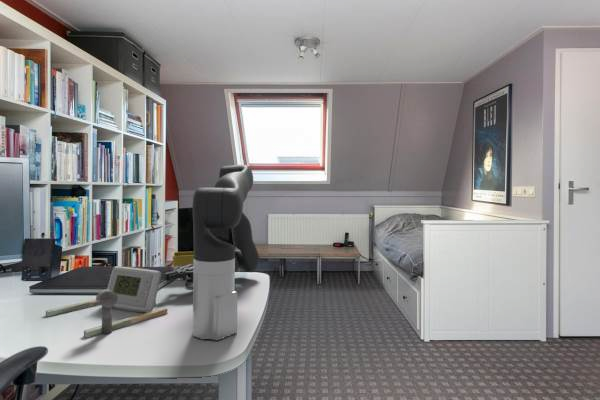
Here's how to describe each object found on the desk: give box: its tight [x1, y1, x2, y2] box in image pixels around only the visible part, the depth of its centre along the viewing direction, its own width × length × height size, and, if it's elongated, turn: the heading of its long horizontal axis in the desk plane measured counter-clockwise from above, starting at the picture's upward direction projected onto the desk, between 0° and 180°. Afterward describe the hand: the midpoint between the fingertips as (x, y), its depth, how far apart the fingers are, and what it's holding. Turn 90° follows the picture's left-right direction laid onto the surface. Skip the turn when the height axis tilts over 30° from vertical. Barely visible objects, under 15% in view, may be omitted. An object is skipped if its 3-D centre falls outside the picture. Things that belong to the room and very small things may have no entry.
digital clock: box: [106, 265, 162, 313], centre depth 100 cm, size 16×9×11 cm, turn 60°
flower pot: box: [172, 251, 194, 281], centre depth 133 cm, size 9×9×9 cm
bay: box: [45, 288, 169, 339], centre depth 93 cm, size 24×20×10 cm
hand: (164, 277), depth 107 cm, fingers closed
